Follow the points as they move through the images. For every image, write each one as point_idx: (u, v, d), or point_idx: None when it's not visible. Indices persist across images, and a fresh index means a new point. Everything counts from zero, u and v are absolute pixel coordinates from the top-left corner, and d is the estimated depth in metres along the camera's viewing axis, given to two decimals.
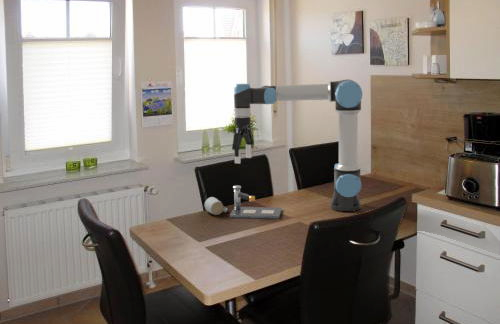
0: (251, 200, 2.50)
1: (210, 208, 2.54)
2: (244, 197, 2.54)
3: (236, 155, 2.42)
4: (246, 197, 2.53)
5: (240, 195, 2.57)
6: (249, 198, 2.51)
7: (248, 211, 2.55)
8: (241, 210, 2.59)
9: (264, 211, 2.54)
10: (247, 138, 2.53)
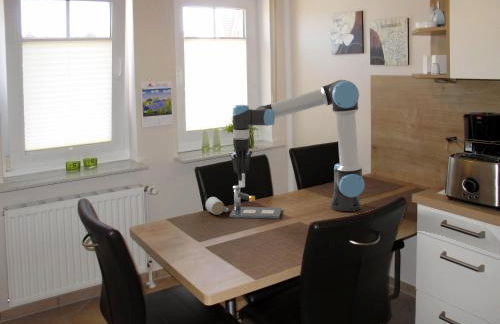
0: (251, 200, 2.50)
1: (211, 208, 2.55)
2: (244, 197, 2.54)
3: (239, 179, 2.47)
4: (246, 197, 2.53)
5: (240, 195, 2.57)
6: (249, 198, 2.51)
7: (248, 211, 2.55)
8: (241, 210, 2.59)
9: (264, 211, 2.54)
10: (243, 163, 2.47)
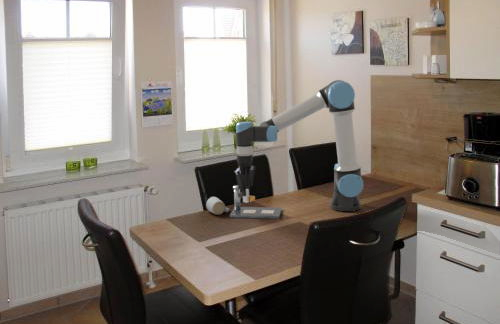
0: (251, 200, 2.50)
1: (212, 208, 2.55)
2: None
3: (243, 194, 2.50)
4: None
5: (240, 195, 2.57)
6: (249, 198, 2.51)
7: (248, 211, 2.55)
8: (241, 210, 2.59)
9: (264, 211, 2.54)
10: (247, 179, 2.50)
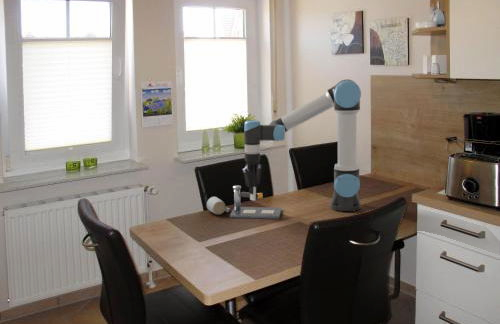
0: (260, 197, 2.54)
1: (212, 208, 2.55)
2: None
3: (250, 192, 2.53)
4: None
5: (243, 194, 2.58)
6: (257, 195, 2.55)
7: (248, 211, 2.55)
8: (241, 210, 2.59)
9: (264, 211, 2.54)
10: (254, 177, 2.53)
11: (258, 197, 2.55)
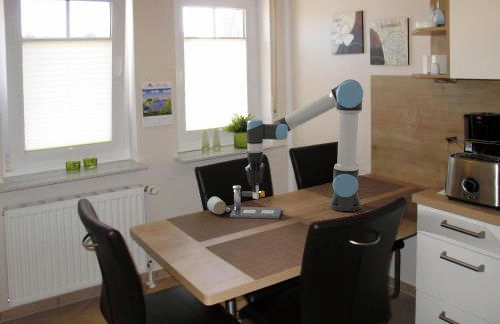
0: (263, 195, 2.58)
1: (213, 207, 2.55)
2: (251, 194, 2.59)
3: (253, 191, 2.55)
4: None
5: (245, 194, 2.59)
6: (260, 194, 2.58)
7: (248, 211, 2.55)
8: (241, 210, 2.59)
9: (264, 211, 2.54)
10: (257, 175, 2.55)
11: (261, 195, 2.58)
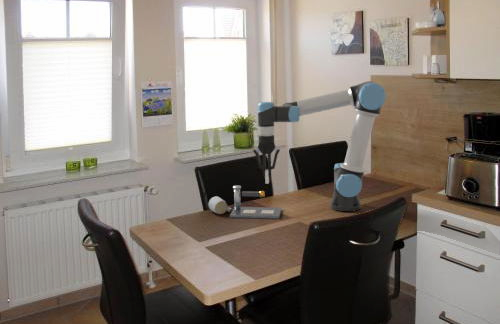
0: (263, 195, 2.58)
1: (214, 207, 2.56)
2: (251, 194, 2.59)
3: (263, 174, 2.50)
4: (254, 194, 2.58)
5: (245, 194, 2.59)
6: (260, 194, 2.58)
7: (248, 211, 2.55)
8: (241, 210, 2.59)
9: (264, 211, 2.54)
10: (268, 160, 2.48)
11: (261, 195, 2.58)
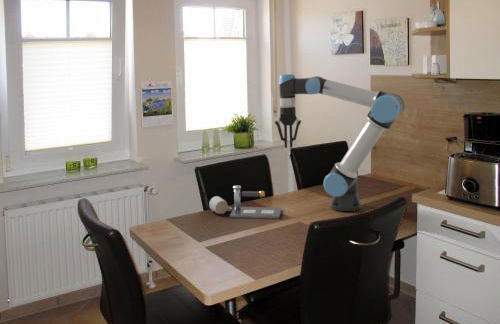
0: (263, 195, 2.58)
1: (215, 207, 2.56)
2: (251, 194, 2.59)
3: None
4: (254, 194, 2.58)
5: (245, 194, 2.59)
6: (260, 194, 2.58)
7: (248, 211, 2.55)
8: (241, 210, 2.59)
9: (264, 211, 2.54)
10: None
11: (261, 195, 2.58)
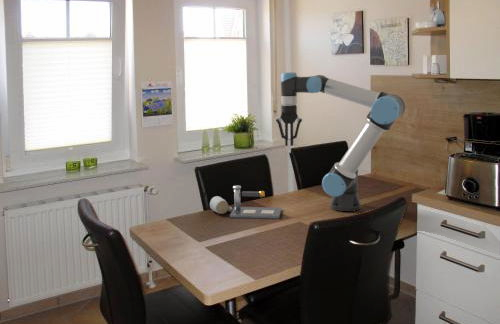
0: (263, 195, 2.58)
1: (215, 207, 2.56)
2: (251, 194, 2.59)
3: (285, 144, 2.57)
4: (254, 194, 2.58)
5: (245, 194, 2.59)
6: (260, 194, 2.58)
7: (248, 211, 2.55)
8: (241, 210, 2.59)
9: (264, 211, 2.54)
10: None
11: (261, 195, 2.58)
